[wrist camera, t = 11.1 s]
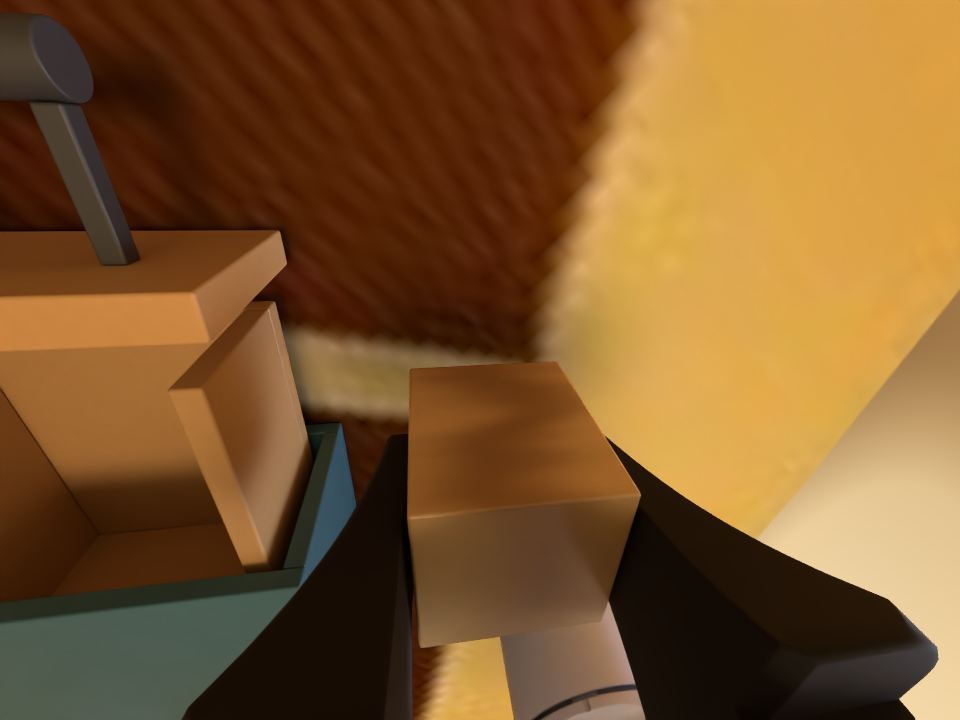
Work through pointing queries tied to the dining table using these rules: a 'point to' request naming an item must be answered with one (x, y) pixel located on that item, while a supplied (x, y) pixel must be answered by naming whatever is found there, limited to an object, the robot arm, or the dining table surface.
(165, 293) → the drawer
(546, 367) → the block
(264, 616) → the cabinet
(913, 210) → the dining table surface
